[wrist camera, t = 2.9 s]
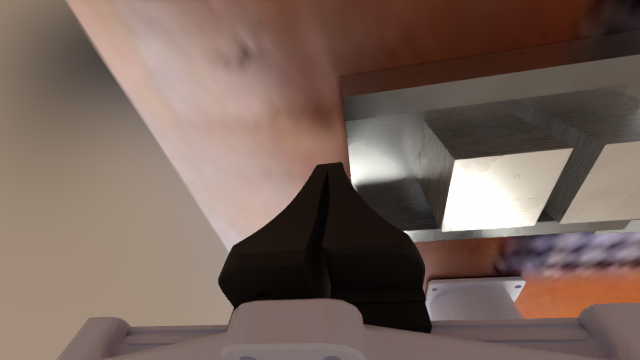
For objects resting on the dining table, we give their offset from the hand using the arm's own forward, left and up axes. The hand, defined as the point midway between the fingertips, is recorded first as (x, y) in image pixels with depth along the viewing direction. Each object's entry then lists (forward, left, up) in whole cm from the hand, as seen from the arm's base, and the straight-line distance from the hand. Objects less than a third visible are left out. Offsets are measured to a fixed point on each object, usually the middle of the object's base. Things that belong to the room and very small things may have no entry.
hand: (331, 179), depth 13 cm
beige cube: (0, -12, -2) cm, 12 cm away
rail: (0, -8, -3) cm, 8 cm away
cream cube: (0, -7, -2) cm, 7 cm away
